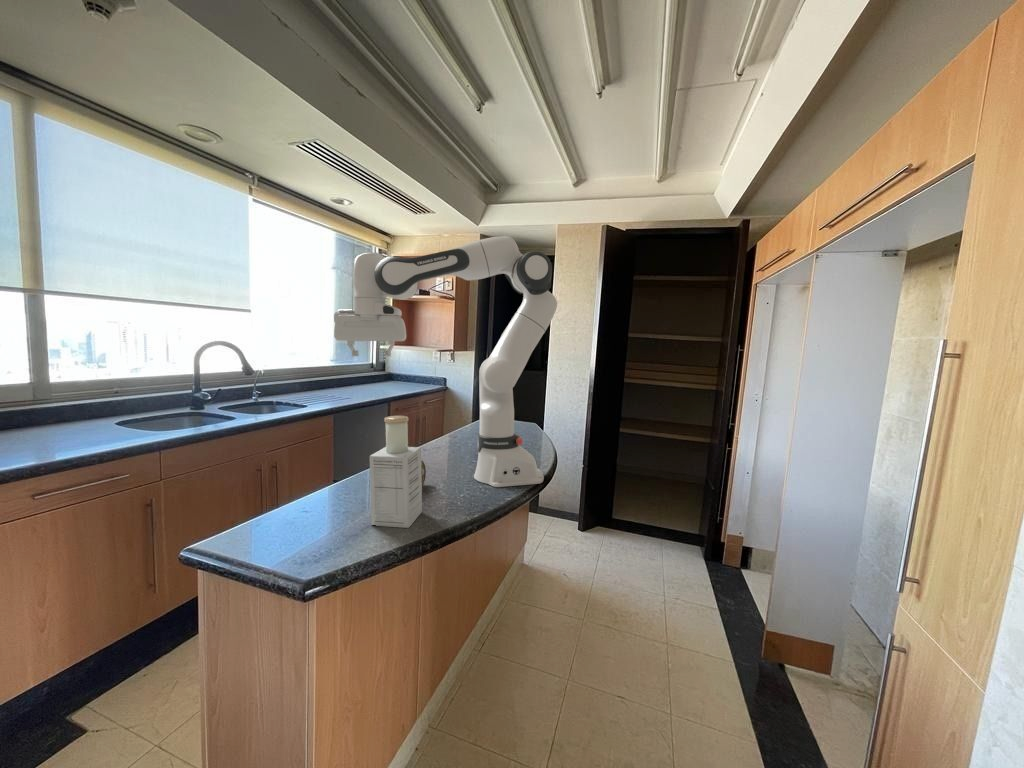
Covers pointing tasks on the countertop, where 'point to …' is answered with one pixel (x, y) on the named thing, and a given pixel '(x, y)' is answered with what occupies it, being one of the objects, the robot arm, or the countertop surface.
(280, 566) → the countertop surface
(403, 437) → the jar
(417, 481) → the supplement box
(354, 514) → the countertop surface
